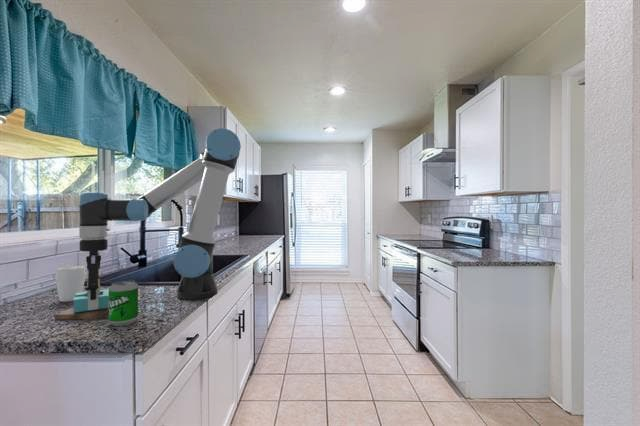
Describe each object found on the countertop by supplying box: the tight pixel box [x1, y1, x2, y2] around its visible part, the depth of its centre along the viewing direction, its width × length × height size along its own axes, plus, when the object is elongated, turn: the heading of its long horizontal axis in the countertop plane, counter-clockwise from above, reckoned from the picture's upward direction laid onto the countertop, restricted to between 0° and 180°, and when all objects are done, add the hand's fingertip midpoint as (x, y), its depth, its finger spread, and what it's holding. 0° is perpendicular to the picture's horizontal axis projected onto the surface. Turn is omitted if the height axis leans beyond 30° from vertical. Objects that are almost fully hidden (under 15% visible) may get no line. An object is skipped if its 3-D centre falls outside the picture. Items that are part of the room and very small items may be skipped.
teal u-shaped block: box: [73, 288, 109, 313], centre depth 103 cm, size 10×10×4 cm
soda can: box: [107, 280, 139, 327], centre depth 93 cm, size 8×8×12 cm
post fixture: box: [54, 278, 108, 320], centre depth 103 cm, size 14×14×10 cm
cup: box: [54, 265, 87, 303], centre depth 117 cm, size 9×9×12 cm
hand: (93, 305), depth 103 cm, fingers closed on teal u-shaped block, 10 cm apart
